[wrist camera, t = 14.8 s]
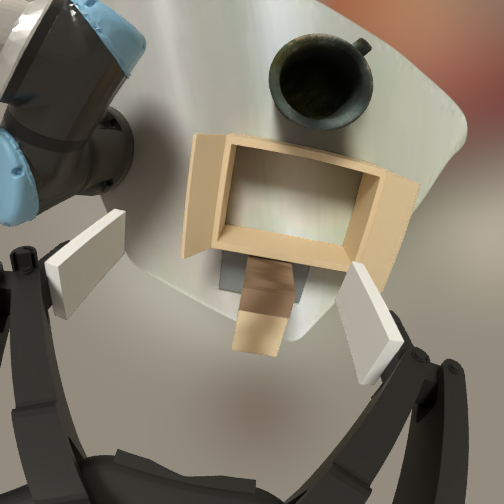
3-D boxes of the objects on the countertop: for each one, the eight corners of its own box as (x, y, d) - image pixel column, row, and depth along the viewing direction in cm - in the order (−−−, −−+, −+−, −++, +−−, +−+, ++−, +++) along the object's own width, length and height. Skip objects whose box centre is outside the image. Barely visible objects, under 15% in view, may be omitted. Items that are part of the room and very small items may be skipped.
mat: (219, 286, 50) (218, 288, 50) (226, 233, 46) (226, 234, 45) (298, 300, 50) (298, 302, 50) (313, 249, 46) (314, 250, 46)
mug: (252, 91, 37) (245, 80, 26) (323, 29, 31) (341, 0, 21) (308, 144, 39) (322, 152, 28) (376, 82, 34) (411, 71, 23)
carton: (200, 225, 46) (180, 258, 35) (213, 130, 39) (193, 133, 29) (361, 255, 46) (382, 293, 36) (387, 168, 40) (421, 184, 29)
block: (241, 292, 50) (231, 349, 37) (251, 239, 45) (242, 287, 33) (276, 298, 50) (276, 357, 37) (289, 246, 46) (295, 296, 33)
